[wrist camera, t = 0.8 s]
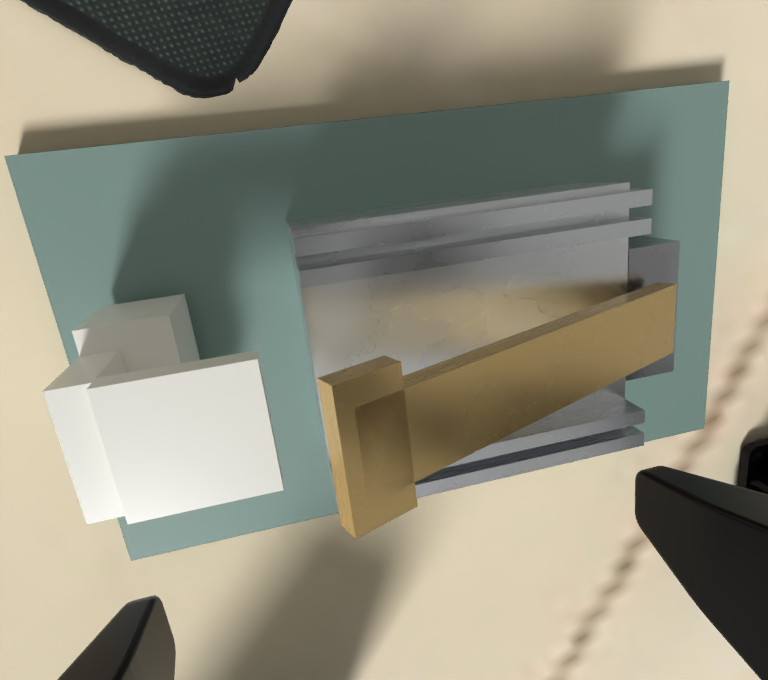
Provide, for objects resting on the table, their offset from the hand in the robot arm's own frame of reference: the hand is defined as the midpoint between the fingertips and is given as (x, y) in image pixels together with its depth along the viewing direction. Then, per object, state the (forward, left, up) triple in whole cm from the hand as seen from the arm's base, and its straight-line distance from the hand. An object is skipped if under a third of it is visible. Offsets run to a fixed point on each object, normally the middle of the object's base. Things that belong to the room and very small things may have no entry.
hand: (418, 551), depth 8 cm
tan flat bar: (-5, 0, -5) cm, 7 cm away
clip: (+4, 0, -11) cm, 12 cm away
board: (-4, 0, -12) cm, 13 cm away
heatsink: (-5, 0, -11) cm, 12 cm away
